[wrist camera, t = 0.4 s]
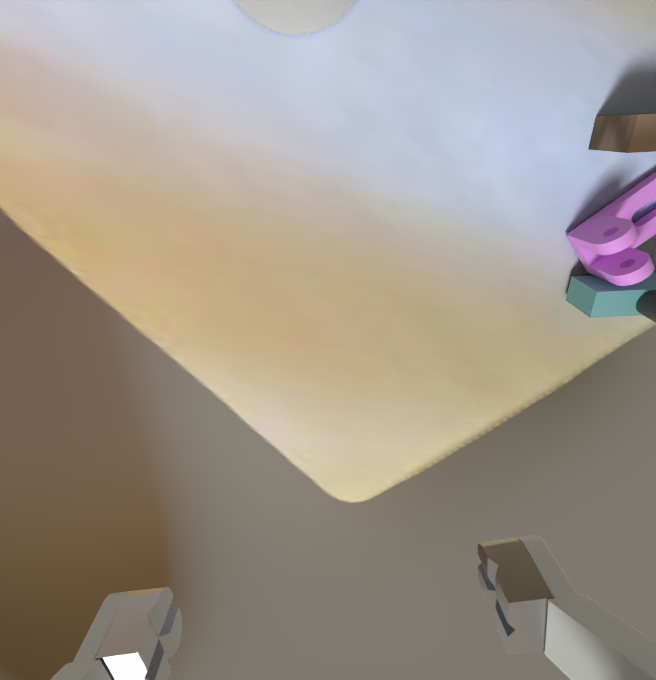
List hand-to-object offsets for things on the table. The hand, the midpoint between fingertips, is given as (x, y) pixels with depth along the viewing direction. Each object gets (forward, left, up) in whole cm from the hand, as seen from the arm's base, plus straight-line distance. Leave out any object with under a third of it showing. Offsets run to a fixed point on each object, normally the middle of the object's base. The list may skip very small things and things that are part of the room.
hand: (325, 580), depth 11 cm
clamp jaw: (+8, +35, -39) cm, 53 cm away
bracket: (0, +34, -39) cm, 52 cm away
